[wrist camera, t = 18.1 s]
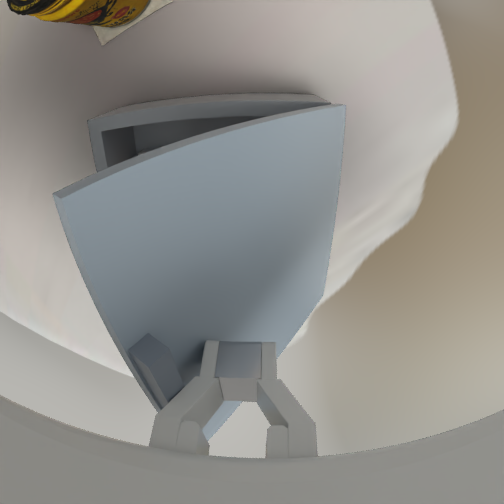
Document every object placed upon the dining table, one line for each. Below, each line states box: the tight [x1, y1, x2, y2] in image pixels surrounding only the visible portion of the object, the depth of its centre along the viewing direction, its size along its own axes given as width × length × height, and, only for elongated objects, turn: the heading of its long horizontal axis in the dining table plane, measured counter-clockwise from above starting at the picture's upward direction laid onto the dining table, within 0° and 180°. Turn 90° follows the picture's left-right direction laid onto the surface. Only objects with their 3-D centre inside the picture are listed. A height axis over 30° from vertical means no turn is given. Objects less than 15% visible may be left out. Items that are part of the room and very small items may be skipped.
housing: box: [87, 93, 331, 172], centre depth 23 cm, size 16×15×6 cm
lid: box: [53, 104, 346, 441], centre depth 14 cm, size 16×15×2 cm
